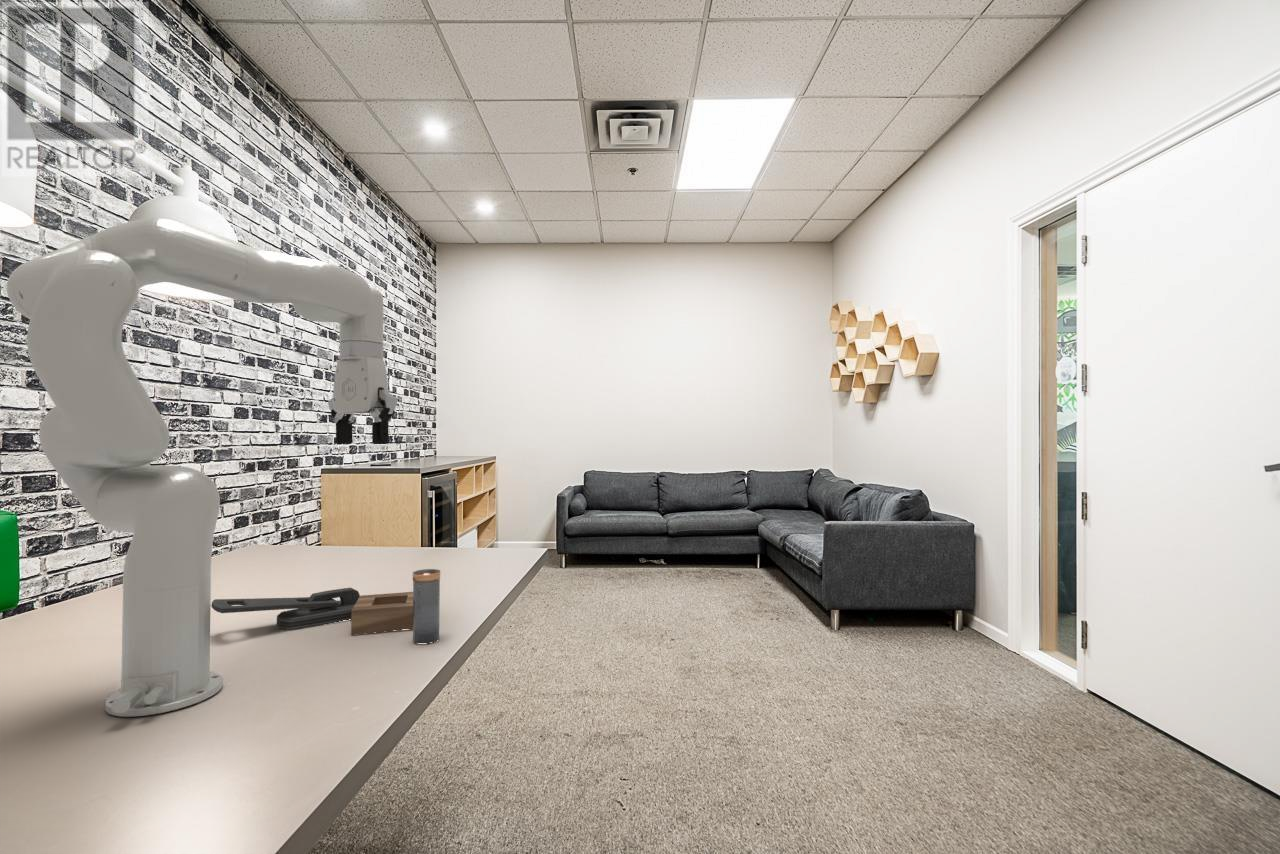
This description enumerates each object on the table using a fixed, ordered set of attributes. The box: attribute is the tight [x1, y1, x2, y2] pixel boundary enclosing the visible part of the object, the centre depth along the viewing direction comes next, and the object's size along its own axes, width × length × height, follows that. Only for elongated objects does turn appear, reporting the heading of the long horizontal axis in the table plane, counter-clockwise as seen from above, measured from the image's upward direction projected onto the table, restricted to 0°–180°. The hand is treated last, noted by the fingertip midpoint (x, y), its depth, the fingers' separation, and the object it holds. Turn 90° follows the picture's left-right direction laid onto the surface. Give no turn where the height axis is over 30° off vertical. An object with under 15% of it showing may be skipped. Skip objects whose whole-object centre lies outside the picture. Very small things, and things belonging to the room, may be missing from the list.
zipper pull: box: [210, 587, 361, 631], centre depth 114 cm, size 9×7×25 cm
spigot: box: [412, 568, 441, 644], centre depth 105 cm, size 5×5×12 cm
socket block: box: [350, 591, 413, 636], centre depth 115 cm, size 11×12×4 cm
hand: (362, 443), depth 113 cm, fingers open, 9 cm apart
